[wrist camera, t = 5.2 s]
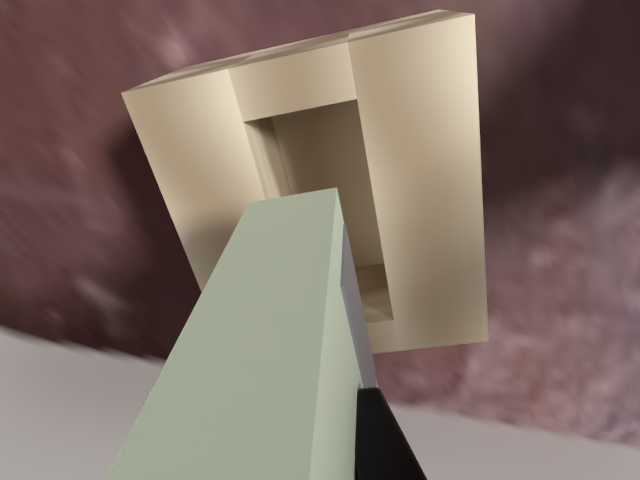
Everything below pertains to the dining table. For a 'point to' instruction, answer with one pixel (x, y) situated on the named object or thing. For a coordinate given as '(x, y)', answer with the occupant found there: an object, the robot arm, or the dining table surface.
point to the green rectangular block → (263, 358)
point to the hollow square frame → (341, 161)
